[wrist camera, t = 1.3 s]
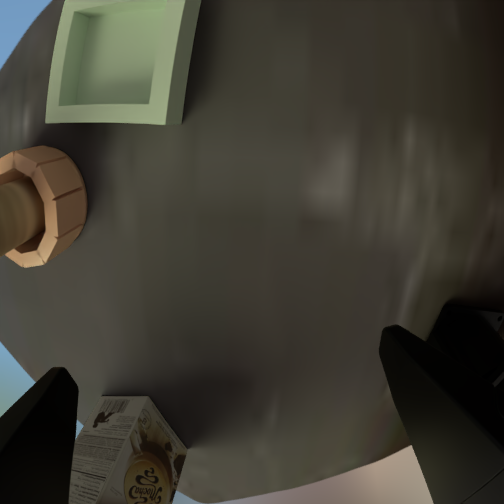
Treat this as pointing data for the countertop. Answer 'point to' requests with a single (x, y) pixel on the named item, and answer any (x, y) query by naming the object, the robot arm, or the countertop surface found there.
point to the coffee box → (126, 455)
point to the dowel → (20, 213)
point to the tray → (122, 61)
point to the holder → (48, 200)
